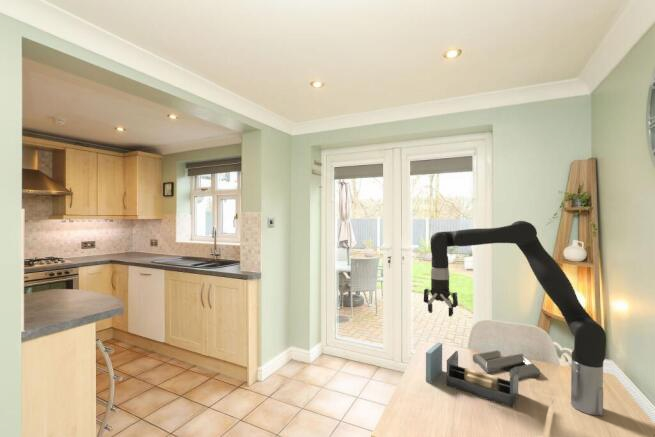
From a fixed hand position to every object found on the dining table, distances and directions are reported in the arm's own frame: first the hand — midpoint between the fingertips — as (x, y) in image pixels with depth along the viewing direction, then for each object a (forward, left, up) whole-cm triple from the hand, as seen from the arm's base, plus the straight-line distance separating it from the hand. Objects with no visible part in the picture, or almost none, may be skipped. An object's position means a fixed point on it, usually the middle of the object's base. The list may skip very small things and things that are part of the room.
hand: (440, 314), depth 142 cm
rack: (-17, +1, -28) cm, 33 cm away
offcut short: (-17, +5, -27) cm, 32 cm away
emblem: (-20, -29, -29) cm, 45 cm away
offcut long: (-17, +3, -27) cm, 32 cm away
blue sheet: (+2, +3, -28) cm, 28 cm away
